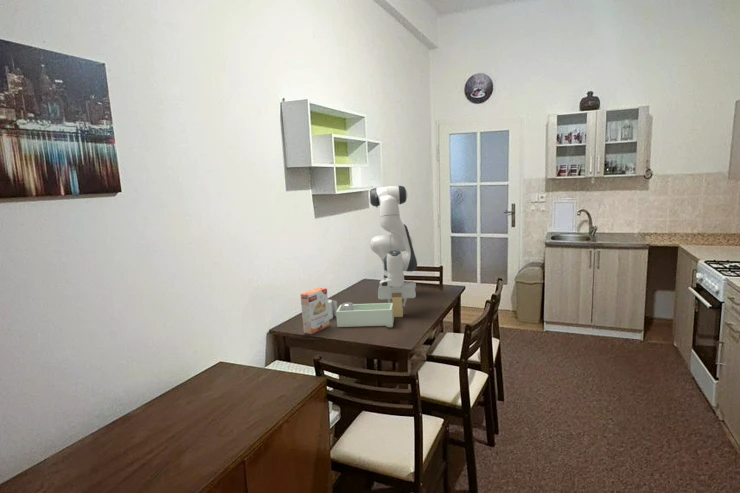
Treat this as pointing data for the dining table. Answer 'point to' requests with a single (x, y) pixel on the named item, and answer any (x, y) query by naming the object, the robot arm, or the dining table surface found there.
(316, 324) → the cracker box
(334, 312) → the toilet tissue
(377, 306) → the tote
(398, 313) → the oat carton
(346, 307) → the tin can
